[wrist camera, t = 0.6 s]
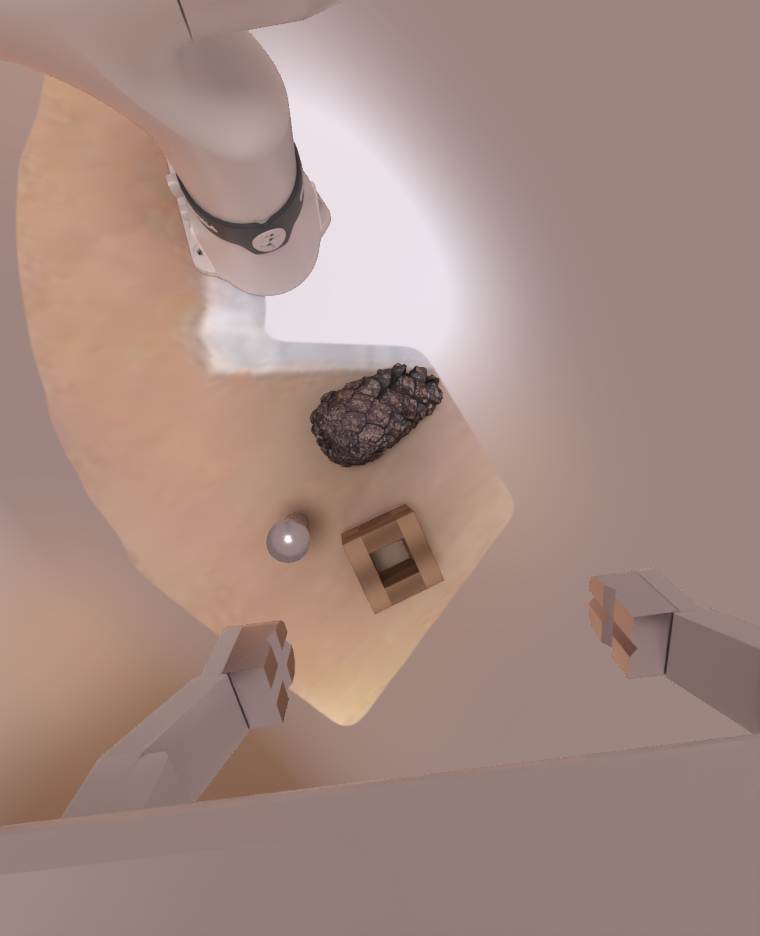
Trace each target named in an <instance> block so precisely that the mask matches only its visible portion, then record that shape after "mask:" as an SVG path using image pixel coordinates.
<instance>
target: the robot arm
mask: <svg viewBox="0 0 760 936" xmlns="http://www.w3.org/2000/svg"><path fill="white" fill-rule="evenodd" d="M342 1H344V0H0V59H1V60H5V61H9V62H12V63H15V64H19V65H22V66H25V67H27V68H30V69H33V70H35V71H38V72H41V73H44V74H46V75H49V76H51V77H53V78H56V79H58V80H60V81H63V82H65V83H67V84H69V85H71V86H73V87H75V88H77V89H79V90H81V91H83V92H85V93H87V94H89V95H91V96H92V97H94V98H96V99H98V100H99V101H101V102H103V103H104V104H106V105H108V106H109V107H111V108H113V109H114V110H116V111H117V112H119V113H120V114H122V115H123V116H125V117H126V118H128V119H129V120H130V121H132V122H133V123H135V124H136V125H137V126H139V127H140V128H141V129H142V130H144V131H145V132H146V133H147V134H148V135H149V136H150V137H151V138H152V139H153V140H154V141H155V143H156V144H157V145H158V147H159V148H160V149H161V151H162V152H163V154H164V155H165V156H166V158H167V163H168V167H169V170H170V174H167V175H166V180H167V183H168V186H169V188H170V191H171V193H172V195H173V196H174V198H177V201H178V205H179V210H180V213H181V217H182V221H183V225H184V228H185V232H186V236H187V240H188V244H189V248H190V252H191V256H192V259H193V263H194V265H195V267H196V269H197V270H198V271H200V272H201V273H203V274H207V275H211V276H215V277H220V278H222V279H224V280H226V281H228V282H229V283H231V284H232V285H234V286H235V287H237V288H238V289H240V290H243V291H245V292H248V293H251V294H255V295H261V296H272V295H279V294H283V293H286V292H288V291H290V290H292V289H294V288H296V287H297V286H298V285H300V284H301V283H302V282H303V281H304V280H305V279H306V278H307V277H308V276H309V274H310V273H311V271H312V269H313V268H314V265H315V263H316V260H317V257H318V252H319V246H320V241H321V237H322V236H323V234H324V233H325V231H326V229H327V228H328V226H329V224H330V221H331V216H330V212H329V209H328V208H327V206H326V205H325V203H324V202H323V200H322V199H321V197H320V196H319V194H318V193H317V191H316V187H315V184H314V183H313V182H310V180H309V179H308V177H307V175H306V174H305V173H304V171H303V168H302V164H301V161H300V157H299V154H298V150H297V147H296V145H295V143H294V141H293V134H292V126H291V118H290V111H289V104H288V97H287V93H286V89H285V86H284V83H283V81H282V78H281V76H280V74H279V72H278V70H277V68H276V66H275V64H274V63H273V61H272V60H271V58H270V57H269V56H268V54H267V53H266V51H265V50H264V49H263V48H262V46H261V45H260V44H259V43H258V42H257V40H256V39H255V38H254V37H253V36H252V35H251V34H250V33H249V32H248V31H247V30H250V29H255V28H261V27H267V26H272V25H278V24H284V23H290V22H295V21H301V20H304V19H307V18H309V17H311V16H313V15H315V14H317V13H320V12H322V11H324V10H326V9H328V8H330V7H332V6H334V5H336V4H338V3H340V2H342ZM200 251H202V253H203V255H199V252H200ZM589 590H590V591H591V593H592V594H593V595H594V598H593V599H592V600H591V602H590V603H589V617H590V621H591V625H592V627H593V629H594V631H595V633H596V635H597V636H598V638H599V639H600V640H601V642H602V643H604V644H606V645H608V646H610V647H612V657H613V659H614V660H615V662H616V663H617V664H618V666H619V667H620V668H621V670H622V671H623V673H624V674H625V675H626V677H627V678H628V679H633V678H643V677H652V676H663V675H666V677H667V678H668V679H670V680H671V681H673V682H674V683H676V684H677V685H679V686H680V687H682V688H684V689H685V690H687V691H688V692H690V693H691V694H693V695H694V696H696V697H697V698H699V699H701V700H702V701H704V702H705V703H707V704H708V705H710V706H712V707H713V708H714V709H716V710H717V711H719V712H720V713H722V714H724V715H725V716H727V717H728V718H730V719H731V720H733V721H734V722H736V723H738V724H739V725H740V726H742V727H744V728H745V729H747V730H748V731H750V732H751V733H753V734H751V735H742V736H735V737H727V738H718V739H710V740H702V741H693V742H685V743H677V744H668V745H661V746H652V747H644V748H636V749H628V750H620V751H611V752H603V753H595V754H587V755H579V756H570V757H562V758H554V759H546V760H538V761H530V762H522V763H513V764H506V765H497V766H489V767H480V768H472V769H464V770H456V771H448V772H439V773H431V774H424V775H415V776H407V777H398V778H390V779H383V780H374V781H366V782H358V783H349V784H342V785H333V786H325V787H318V788H309V789H300V790H292V791H285V792H276V793H268V794H260V795H252V796H244V797H236V798H227V799H219V800H211V801H202V802H196V801H197V799H198V798H199V797H200V795H201V794H202V793H203V791H204V790H205V789H206V788H207V786H208V785H209V784H210V782H211V781H212V780H213V778H214V777H215V776H216V774H217V773H218V772H219V770H220V769H221V768H222V767H223V765H224V764H225V763H226V761H227V760H228V759H229V757H230V756H231V755H232V753H233V752H234V751H235V749H236V748H237V747H238V745H239V744H240V743H241V742H242V740H243V739H244V738H245V736H246V735H247V734H248V732H249V729H253V728H260V727H266V726H271V725H278V724H283V722H284V717H285V713H286V709H287V705H288V700H289V698H288V695H287V692H286V690H287V689H288V688H289V687H290V685H291V684H292V683H293V678H294V672H295V659H294V652H293V649H292V645H291V644H289V643H288V642H287V641H285V639H286V636H287V629H286V626H285V623H284V622H283V621H281V620H280V621H271V622H263V623H254V624H246V625H240V626H232V627H227V628H226V629H224V630H223V632H222V634H221V636H220V638H219V640H218V642H217V644H216V646H215V648H214V650H213V652H212V654H211V656H210V658H209V660H208V662H207V664H206V666H205V668H204V670H203V672H202V674H201V676H200V677H198V678H193V679H192V680H191V681H190V682H189V683H188V684H187V685H185V686H184V687H183V688H182V689H180V690H179V691H178V692H177V693H176V694H175V695H173V696H172V697H171V698H170V699H169V700H167V701H166V702H165V703H164V704H163V705H161V706H160V707H159V708H158V709H157V710H156V711H154V712H153V713H152V714H151V715H150V716H148V717H147V718H146V719H145V720H144V721H142V722H141V723H140V724H139V725H138V726H136V727H135V728H134V729H133V730H132V731H131V732H129V733H128V734H127V735H126V736H124V737H123V738H122V739H121V740H120V741H119V742H117V743H116V744H115V745H114V746H113V747H111V748H110V749H109V750H108V751H107V752H105V753H104V754H103V755H102V756H101V757H100V758H99V759H98V760H97V762H96V763H95V765H94V767H93V768H92V770H91V772H90V773H89V774H88V776H87V778H86V779H85V781H84V782H83V784H82V785H81V787H80V789H79V790H78V792H77V793H76V795H75V796H74V798H73V799H72V801H71V803H70V804H69V806H68V808H67V809H66V810H65V812H64V814H63V815H62V817H61V818H60V819H56V820H48V821H40V822H31V823H23V824H16V825H8V826H0V936H760V627H759V626H757V625H754V624H752V623H749V622H746V621H743V620H741V619H738V618H736V617H733V616H730V615H728V614H725V613H722V612H720V611H717V610H714V609H712V608H705V609H703V608H702V607H701V606H700V605H699V604H697V603H696V602H695V601H694V600H693V599H691V598H690V597H689V596H688V595H687V594H685V593H684V592H683V591H682V590H681V589H680V588H679V587H677V586H676V585H675V584H674V583H673V582H672V581H670V580H669V579H668V578H667V577H666V576H664V575H663V574H662V573H661V572H660V571H659V570H657V569H655V568H652V567H649V568H643V569H637V570H631V571H627V572H621V573H614V574H608V575H600V576H593V577H591V580H590V582H589Z"/></svg>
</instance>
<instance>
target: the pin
mask: <svg viewBox="0 0 760 936" xmlns="http://www.w3.org/2000/svg"><path fill="white" fill-rule="evenodd" d="M307 528H308V520H307V518H306V517H305V516H304V515H303V514H301V513H292V514H290V515H289V516H288V517H287V518H286V519H285V520H282V521H279V522H278V523H276V524H275V525H274V526H273V527H272V529H271V530H270V532H269V533H268V536H267V548H268V551H269V553H270V554H271V555H272V556H273V557H274V558H275V559H276V560H278V561H281V562H285V563H291V562H295V561H298V560H299V559H301V558H302V557H303V556H304V555H305V554H306V553H307V551H308V549H309V545H310V533H309V531H308V529H307Z"/></svg>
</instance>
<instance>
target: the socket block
mask: <svg viewBox="0 0 760 936" xmlns="http://www.w3.org/2000/svg"><path fill="white" fill-rule="evenodd" d="M341 535H342V545H343V548H344V550H345V552H346V554H347V556H348V558H349V560H350V562H351V565H352V567H353V569H354V571H355V573H356V575H357V577H358V580H359V582H360V584H361V586H362V588H363V590H364V592H365V595H366V597H367V599H368V601H369V603H370V605H371V607H372V610H373V612H374V614H377V613H379V612H381V611H383V610H385V609H387V608H389V607H391V606H393V605H395V604H397V603H399V602H401V601H403V600H405V599H407V598H409V597H411V596H413V595H415V594H417V593H419V592H422V591H424V590H426V589H428V588H430V587H432V586H434V585H436V584H438V583H440V582H442V581H444V578H443V576H442V574H441V572H440V569H439V567H438V565H437V563H436V560H435V558H434V556H433V553H432V551H431V549H430V547H429V544H428V542H427V540H426V538H425V535H424V533H423V531H422V529H421V526H420V524H419V522H418V519H417V517H416V515H415V513H414V511H413V510H412V509H410V508H409V507H408V506H407V505H403V506H401V507H399V508H397V509H394V510H392V511H390V512H388V513H386V514H384V515H382V516H379V517H377V518H375V519H373V520H371V521H369V522H367V523H364V524H362V525H360V526H358V527H356V528H354V529H352V530H349V531H347V532H345V533H343V534H341ZM400 539H402V541H403V543H404V545H405V547H406V550H407V552H408V554H409V556H410V559H408V560H406V561H404V562H402V563H400V564H398V565H395V566H393V567H391V568H389V569H387V570H385V571H383V572H381V573H379V572H378V570H377V568H376V566H375V564H374V561H373V559H372V557H371V555H370V553H372V552H374V551H377V550H379V549H381V548H383V547H385V546H387V545H389V544H391V543H393V542H395V541H398V540H400Z"/></svg>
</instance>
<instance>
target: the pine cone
mask: <svg viewBox="0 0 760 936" xmlns="http://www.w3.org/2000/svg"><path fill="white" fill-rule="evenodd" d="M406 367H407V366H406V365H405V364H404V365H401V364H400V363H397V364H395V365H394V366H393V368H391V369H385V370H381V369H379V370H378V371H377V374H376V375H374V376H371V377H363V378H362V379H361V380H358V381H353V382H350V383H346V386H345V387H344V388H343V389H341V390H337V391H330V392H329V393H326V394H324V395H323V396H322V397H321V399H320V400H321V404H320V405H319V406H318V408H317V409H316V410H314V411H313V412H312V413H311V416H310V421H311V423H312V424H313V426H312V428H311V432H312V433H313V434H314V435H315V437H316V438H317V441H316V442H317V444H318V445H319V446H320V447H321V450H322V451H323V453H324V454H325V455H326V456H328V458H329V459H330V461H332V462H334V463H336V464H340V465H341V466H342V467H351V466H352V465H353V466H355V465H364V464H366V463H368V462H373V461H374V460H375V459H378V458H380V457H381V456H382V455H383V452H384V451H385V450H386V449H387V448H392V446H394V445H395V444H396V443H398V442H399V440H400V439H401V438H402V437H404V436H406V435H408V434H409V432H410V431H411V429H412V428H415V427H416V426H417V424H418V421H419V420H422V419H423V418H424V417H425V416H428V415H431V414H432V412H433V410H434V409H435V408H436V404H440V403H441V399H442V398H443V397H442V393H443V392H442V391H441V390H440V388H439V387H438V383H439V378H436V377H434V376H433V375H431V376H429V377H427V370H426V368H424V367H418V366H415V367H414V369H413V370H411V371H410V373H409V374H408V373H406Z"/></svg>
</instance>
